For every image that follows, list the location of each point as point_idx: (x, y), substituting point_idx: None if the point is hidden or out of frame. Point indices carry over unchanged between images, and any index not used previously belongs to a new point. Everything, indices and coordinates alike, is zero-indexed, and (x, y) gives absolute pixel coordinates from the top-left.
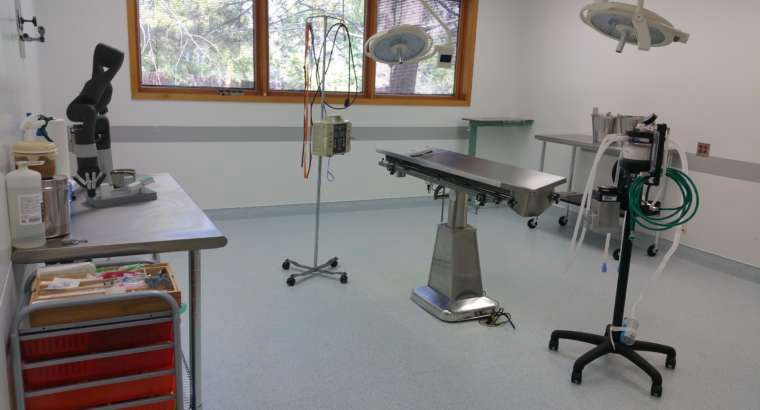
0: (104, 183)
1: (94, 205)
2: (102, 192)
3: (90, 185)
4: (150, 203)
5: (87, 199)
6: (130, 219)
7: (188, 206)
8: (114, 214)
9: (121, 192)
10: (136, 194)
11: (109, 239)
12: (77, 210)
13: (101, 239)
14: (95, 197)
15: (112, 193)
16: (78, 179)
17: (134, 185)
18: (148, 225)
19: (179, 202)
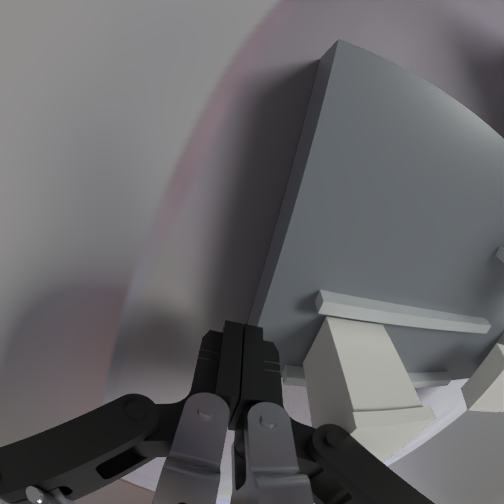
0: (409, 428)
1: (260, 282)
2: (314, 405)
3: (246, 432)
4: (422, 397)
5: (315, 95)
6: (231, 471)
7: (404, 453)
8: (231, 437)
9: (469, 325)
10: (463, 369)
11: (142, 481)
12: (130, 287)
13: (131, 476)
14: (314, 267)
15: (474, 240)
16: (65, 498)
17: (481, 410)
18: (230, 490)
19: (443, 420)
